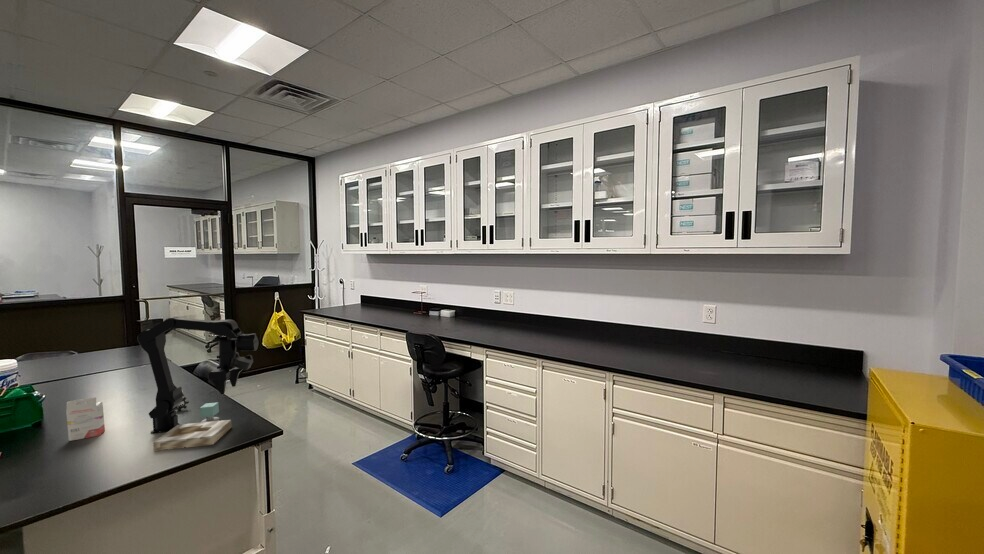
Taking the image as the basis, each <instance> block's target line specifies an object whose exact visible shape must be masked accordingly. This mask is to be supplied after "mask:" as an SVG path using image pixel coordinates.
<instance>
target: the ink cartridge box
mask: <svg viewBox="0 0 984 554" xmlns="http://www.w3.org/2000/svg"><path fill="white" fill-rule="evenodd" d="M81 402H82V404H81ZM103 405H104V404H103V401H98V402H97V398H96V397H90V398H82V399H75V400H69V401H66V410H65V413H66V423H67V424H66V425H67V435H68V441H69V442H70V441H75V440H82V439H86V438H87V439H88V438H89V439H90V438H93V437H98V436H101V435H102V434H103V433H104V432H105V431H106V428H105V416H104V406H103Z"/></svg>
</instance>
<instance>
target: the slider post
mask: <svg viewBox="0 0 984 554" xmlns="http://www.w3.org/2000/svg"><path fill="white" fill-rule="evenodd" d="M219 408H220V407H219V402H218V401H217V402H209V403H207V402H206V403H204V404H203V405H202V406H200V407H199V418H204V419H203V420H201V421H200V423H201V422H211V421H220V417H219V416H215V415H217V414H218V413H220V409H219Z"/></svg>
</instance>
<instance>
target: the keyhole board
mask: <svg viewBox="0 0 984 554" xmlns="http://www.w3.org/2000/svg"><path fill="white" fill-rule="evenodd" d="M230 429H232V419H224V420H223V419H222V420H219V421H211V422H201V421H200V422H193V423H192V422H191V423H183V424H180V423H179V425H177V426H175V427H174V428H173V429H171V430H170V431H168V432H164V433H163V435H161V436H160V437H159V438H157V439H155V440H154V441H153V442H152V444H153V445H152V446H153V451H154V450H158V451H164V450H163V449H168V450H173V448H177V449H185V448H184V447H186V448H194V447H202V446H204V447H205V446H213V445H214V444H215V443H217V442H218V440H219V439H221V438H222V437H223V436H224V435H225V434H227V432H229V430H230Z"/></svg>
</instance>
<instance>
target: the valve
mask: <svg viewBox="0 0 984 554" xmlns="http://www.w3.org/2000/svg"><path fill="white" fill-rule="evenodd" d="M182 393H183V394H184V392H183V389H182ZM189 403H190V401H189V400H187V397H186V396H185V395H184V396H183V400H182V402H181V403H180V404H179V405H178V407H177V409H175V410H174V411H176V410H177V412H182V409H187V408H188V407H187V406H188V404H189ZM182 404H183V405H182ZM180 405H181V406H180Z"/></svg>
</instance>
